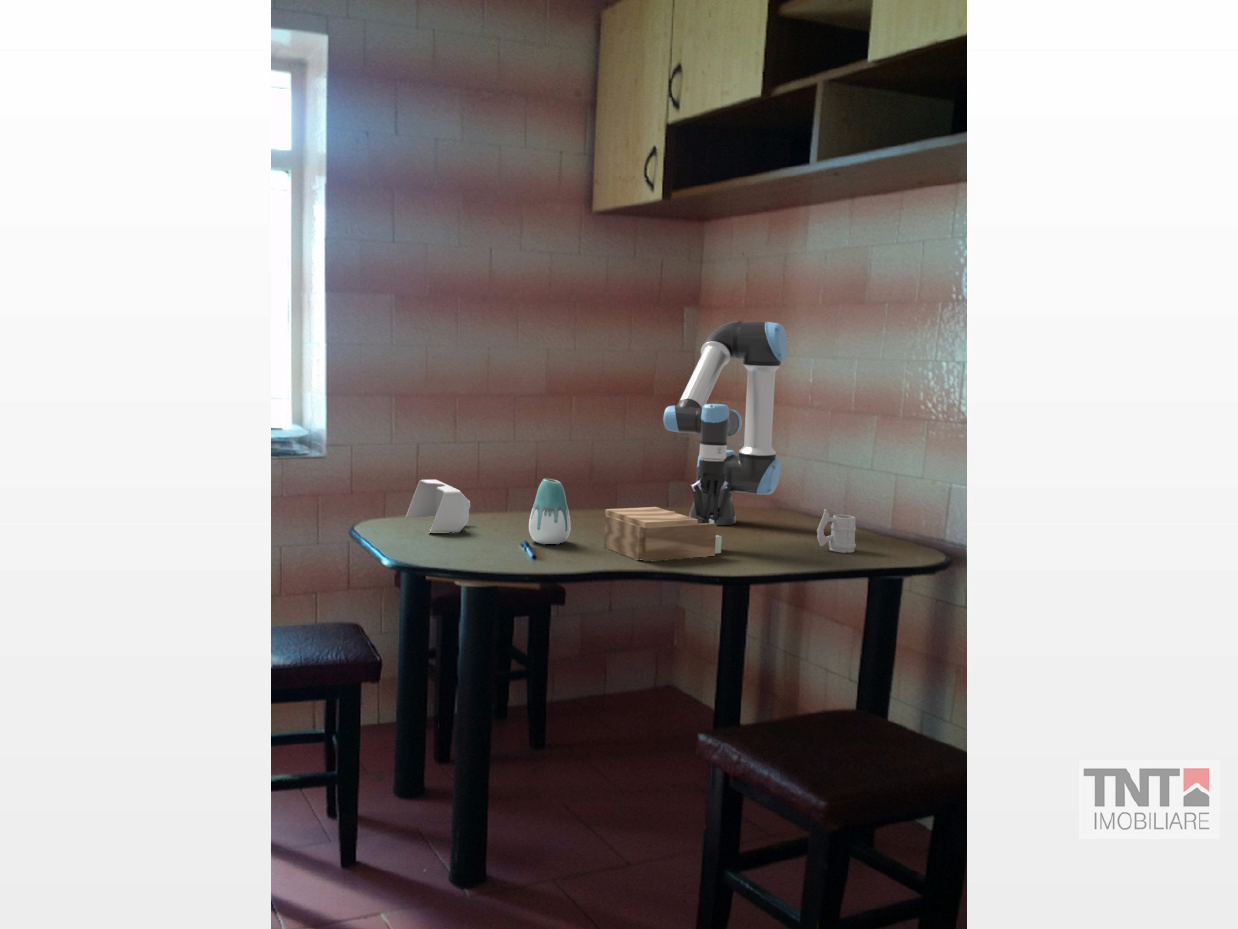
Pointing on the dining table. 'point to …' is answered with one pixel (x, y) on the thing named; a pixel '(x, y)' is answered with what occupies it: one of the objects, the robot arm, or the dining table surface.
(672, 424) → the robot arm
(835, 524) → the mug
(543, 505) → the vase
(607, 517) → the wooden box
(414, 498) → the white angular cover
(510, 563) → the dining table surface
